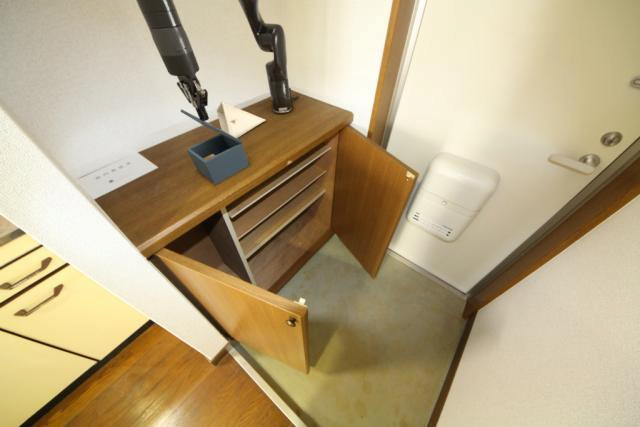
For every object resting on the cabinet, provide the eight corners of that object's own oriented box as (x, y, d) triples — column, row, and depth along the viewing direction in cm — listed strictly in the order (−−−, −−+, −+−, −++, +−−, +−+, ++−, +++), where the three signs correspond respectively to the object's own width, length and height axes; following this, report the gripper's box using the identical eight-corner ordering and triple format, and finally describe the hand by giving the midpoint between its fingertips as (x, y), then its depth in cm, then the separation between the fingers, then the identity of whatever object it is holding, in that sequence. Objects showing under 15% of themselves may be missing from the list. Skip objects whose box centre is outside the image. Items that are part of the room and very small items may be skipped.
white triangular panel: (255, 103, 103) (214, 103, 90) (263, 102, 99) (221, 101, 86) (262, 137, 109) (224, 142, 95) (269, 136, 105) (231, 141, 91)
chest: (215, 184, 74) (204, 162, 67) (197, 170, 79) (186, 149, 73) (249, 165, 81) (242, 143, 74) (230, 153, 86) (222, 132, 79)
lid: (200, 123, 61) (201, 120, 61) (180, 111, 66) (181, 109, 66) (241, 143, 74) (242, 141, 74) (221, 132, 79) (222, 130, 79)
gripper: (203, 50, 53) (227, 121, 66) (178, 43, 59) (204, 109, 72) (172, 57, 49) (204, 131, 62) (148, 49, 55) (182, 117, 68)
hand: (204, 119), depth 67 cm, fingers closed
